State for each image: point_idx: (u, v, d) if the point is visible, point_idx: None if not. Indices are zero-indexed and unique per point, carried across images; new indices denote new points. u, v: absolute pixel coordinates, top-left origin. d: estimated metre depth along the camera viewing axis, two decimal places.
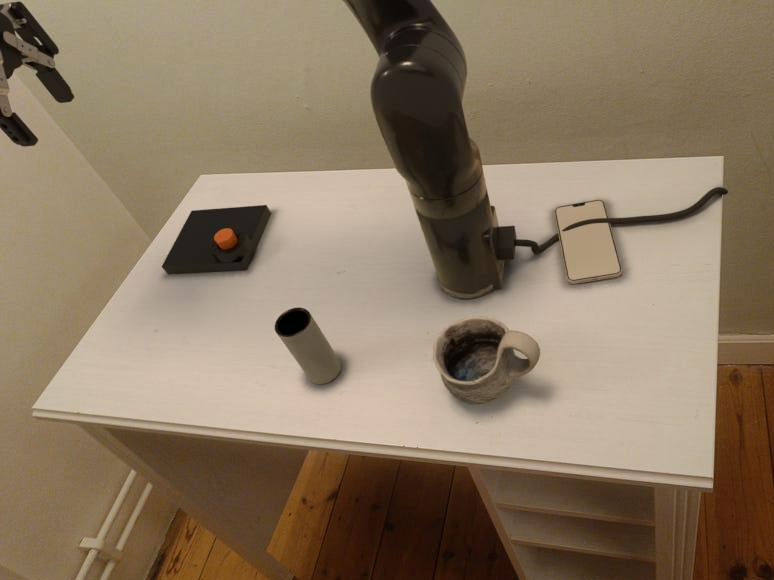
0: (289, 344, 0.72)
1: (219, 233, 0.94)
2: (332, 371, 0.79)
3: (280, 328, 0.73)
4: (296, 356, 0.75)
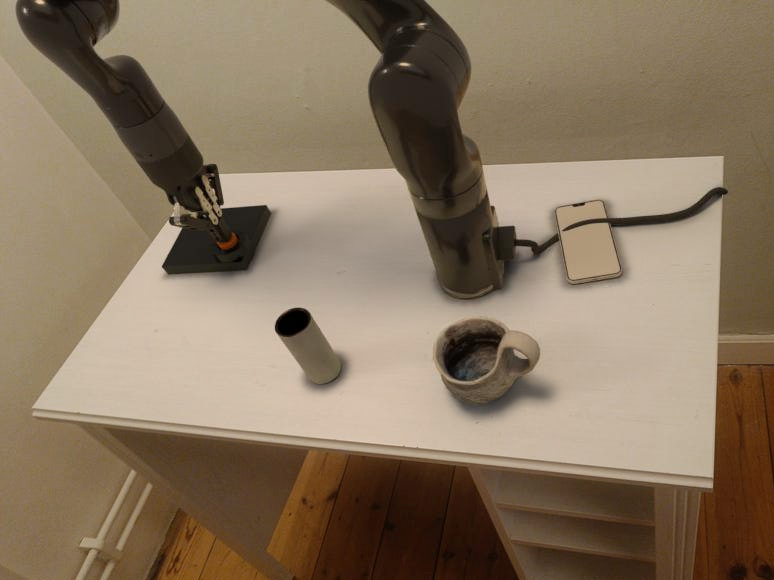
0: (289, 344, 0.72)
1: None
2: (332, 371, 0.79)
3: (280, 328, 0.73)
4: (296, 356, 0.75)
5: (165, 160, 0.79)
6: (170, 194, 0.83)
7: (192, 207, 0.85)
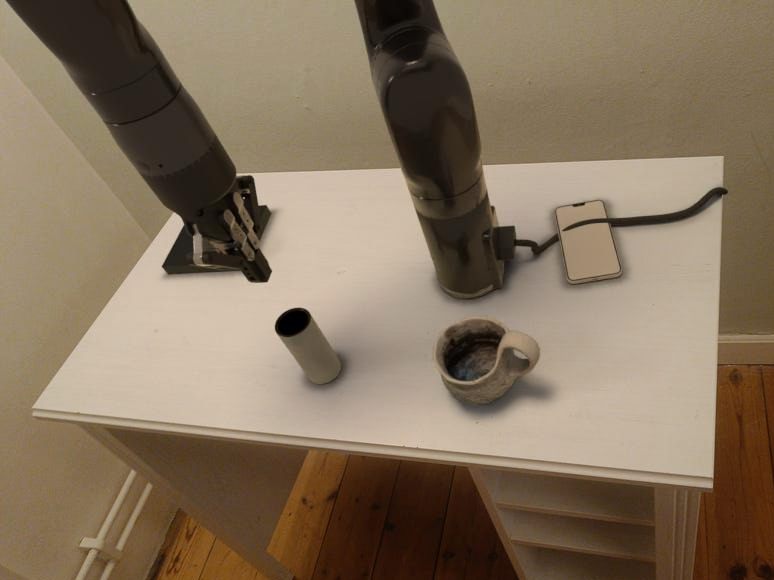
0: (289, 344, 0.72)
1: None
2: (332, 371, 0.79)
3: (280, 328, 0.73)
4: (296, 356, 0.75)
5: (182, 173, 0.53)
6: (188, 221, 0.57)
7: (219, 238, 0.60)
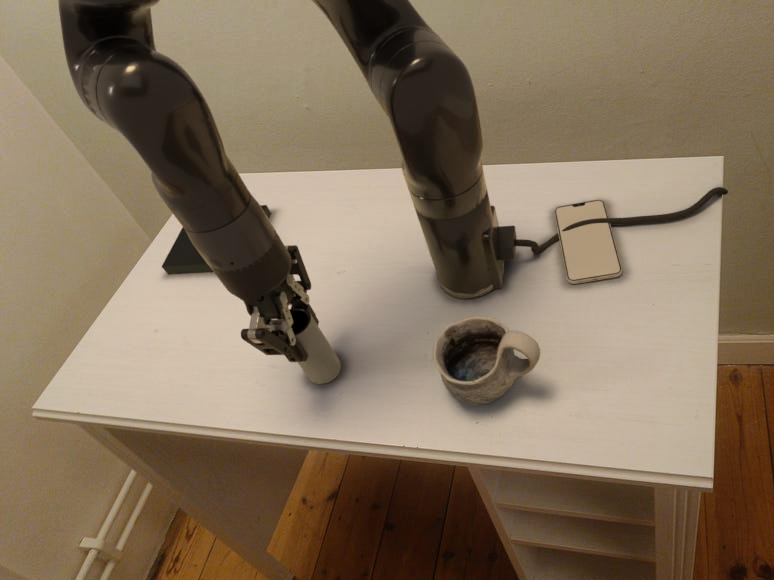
0: None
1: None
2: (332, 371, 0.79)
3: None
4: None
5: (249, 268, 0.60)
6: (250, 305, 0.64)
7: (275, 317, 0.67)
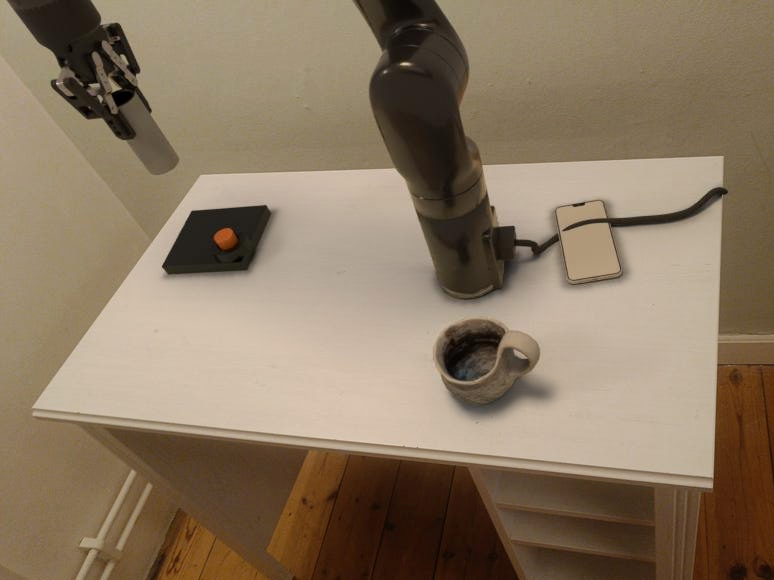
0: None
1: (219, 233, 0.94)
2: (167, 160, 0.84)
3: None
4: None
5: (48, 7, 0.66)
6: (60, 56, 0.70)
7: (89, 77, 0.72)
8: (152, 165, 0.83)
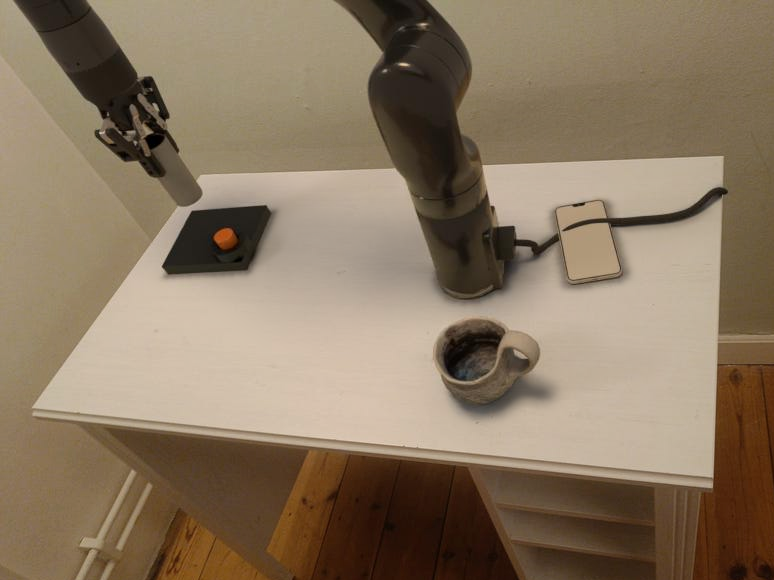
0: None
1: (219, 233, 0.94)
2: (192, 194, 0.94)
3: None
4: None
5: (93, 70, 0.76)
6: (102, 110, 0.80)
7: (127, 126, 0.83)
8: (179, 198, 0.94)
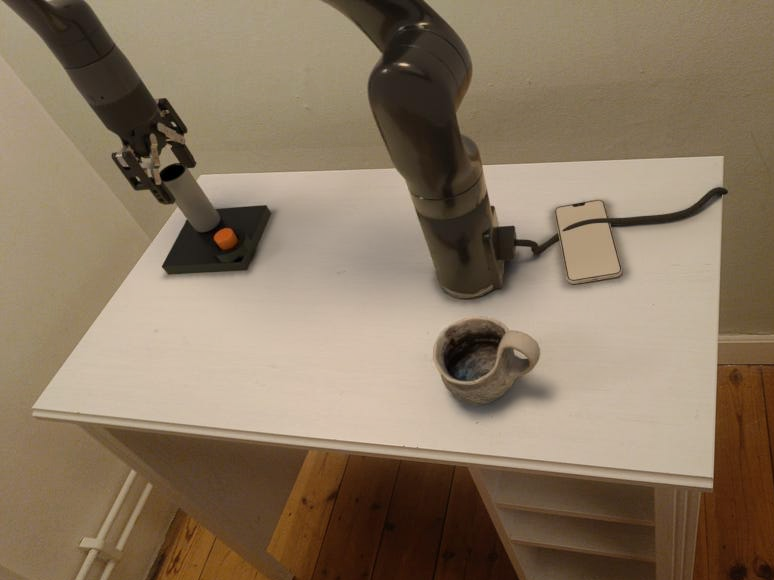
0: (169, 189, 0.93)
1: (219, 233, 0.94)
2: (210, 220, 0.99)
3: (163, 178, 0.93)
4: (177, 203, 0.95)
5: (117, 103, 0.80)
6: (124, 139, 0.84)
7: (147, 154, 0.87)
8: (198, 225, 0.98)
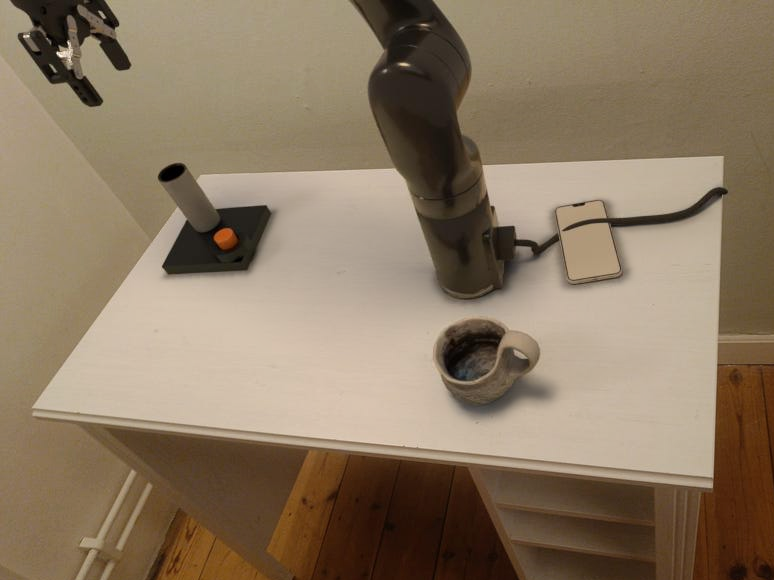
0: (169, 189, 0.93)
1: (219, 233, 0.94)
2: (210, 220, 0.99)
3: (163, 178, 0.93)
4: (177, 203, 0.95)
5: None
6: (34, 19, 0.71)
7: (65, 40, 0.74)
8: (198, 225, 0.98)
